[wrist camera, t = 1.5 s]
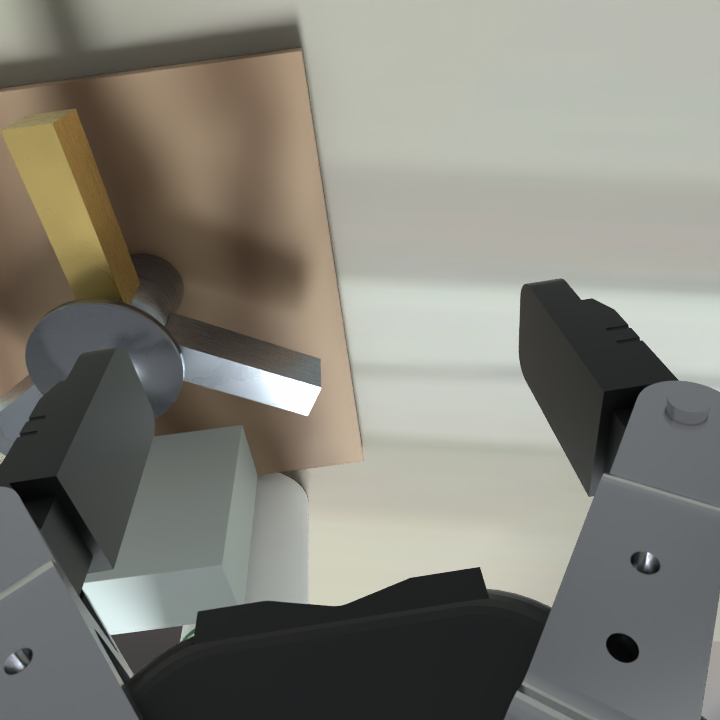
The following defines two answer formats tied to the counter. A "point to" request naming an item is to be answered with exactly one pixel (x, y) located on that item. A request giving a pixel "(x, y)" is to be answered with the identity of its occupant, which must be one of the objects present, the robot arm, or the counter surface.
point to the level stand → (182, 534)
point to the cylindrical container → (276, 544)
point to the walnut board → (202, 231)
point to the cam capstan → (126, 296)
